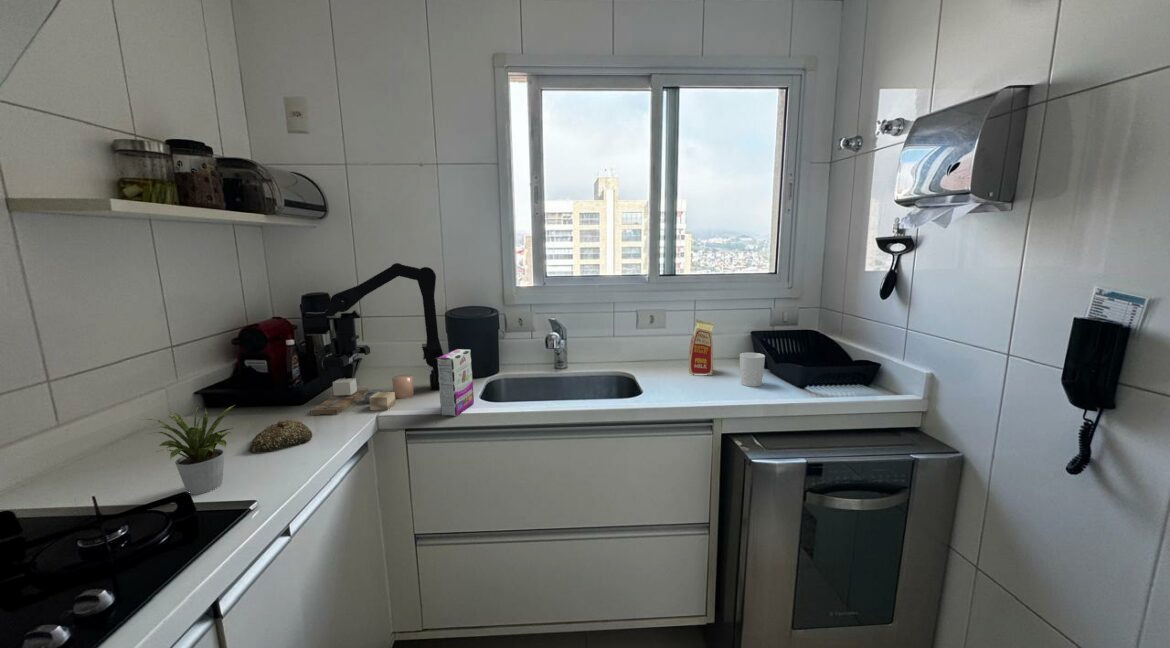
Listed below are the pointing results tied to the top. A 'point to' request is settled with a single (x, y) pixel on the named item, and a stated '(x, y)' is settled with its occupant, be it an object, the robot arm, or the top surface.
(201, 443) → the house plant
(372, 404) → the oak block
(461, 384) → the candy bar box
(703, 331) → the milk carton
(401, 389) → the pink pillar candle
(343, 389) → the white block
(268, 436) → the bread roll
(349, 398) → the board
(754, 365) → the white cup
